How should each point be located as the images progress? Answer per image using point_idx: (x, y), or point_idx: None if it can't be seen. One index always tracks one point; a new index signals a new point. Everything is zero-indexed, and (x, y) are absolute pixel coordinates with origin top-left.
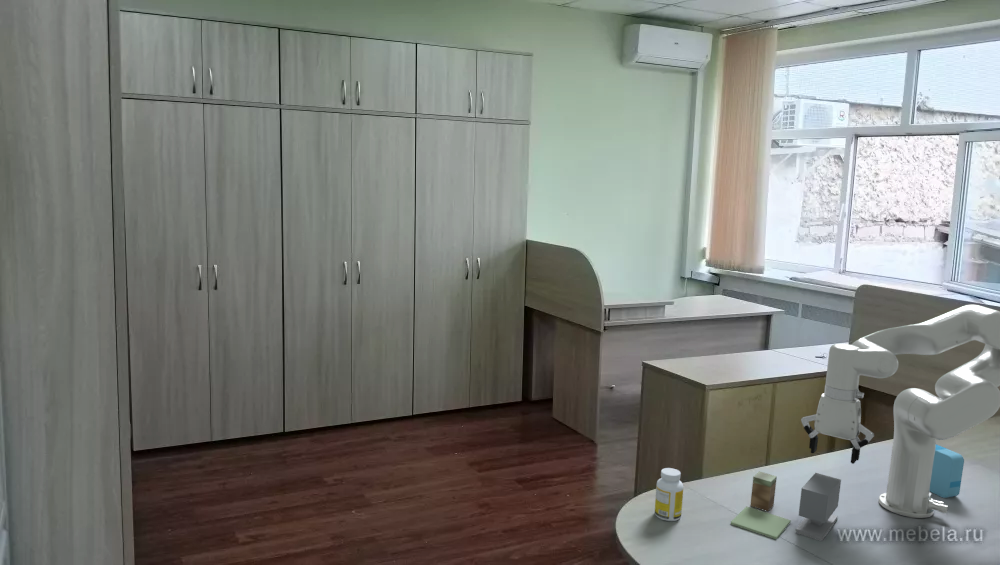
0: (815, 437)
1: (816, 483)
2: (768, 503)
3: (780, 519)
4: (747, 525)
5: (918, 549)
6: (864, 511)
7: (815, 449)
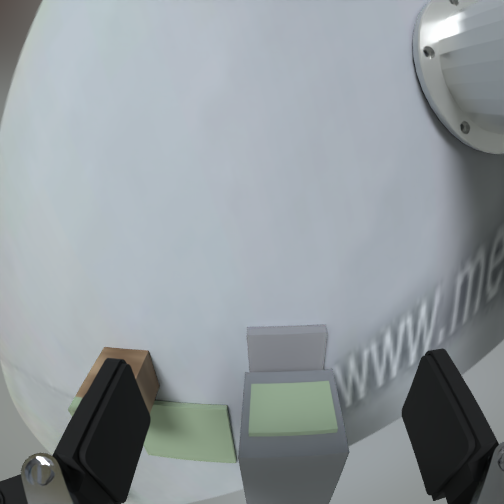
0: (104, 500)
1: (274, 499)
2: (153, 401)
3: (206, 416)
4: (175, 454)
5: (496, 326)
6: (392, 196)
7: (135, 405)
